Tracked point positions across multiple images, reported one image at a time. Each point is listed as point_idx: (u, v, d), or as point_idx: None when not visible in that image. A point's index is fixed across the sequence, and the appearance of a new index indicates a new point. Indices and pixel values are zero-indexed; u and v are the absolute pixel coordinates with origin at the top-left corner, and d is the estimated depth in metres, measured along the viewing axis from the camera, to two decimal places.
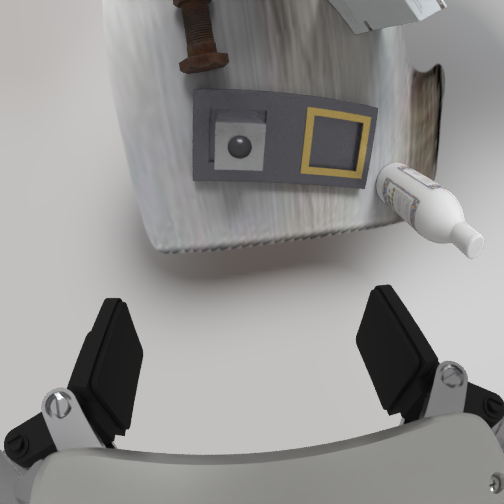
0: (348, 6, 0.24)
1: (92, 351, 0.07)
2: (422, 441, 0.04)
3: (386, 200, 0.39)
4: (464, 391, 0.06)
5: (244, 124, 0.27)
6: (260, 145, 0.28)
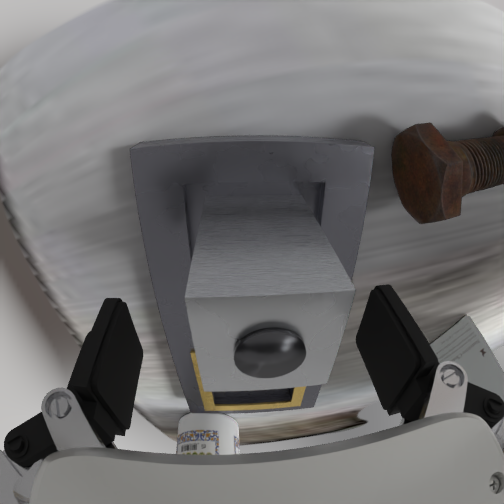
0: None
1: (92, 351, 0.07)
2: (422, 441, 0.04)
3: (187, 439, 0.25)
4: (464, 391, 0.06)
5: (334, 352, 0.10)
6: (271, 383, 0.11)
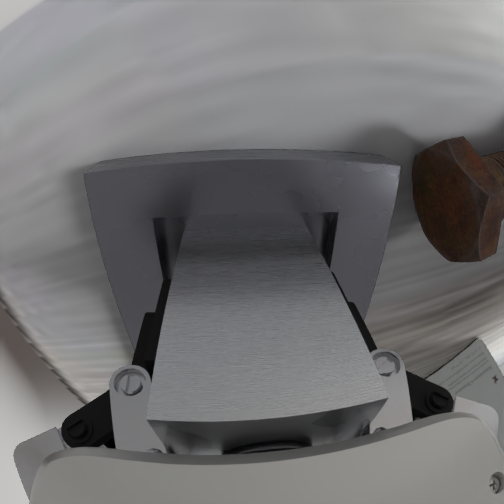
0: (466, 389, 0.18)
1: None
2: (422, 441, 0.04)
3: None
4: (404, 375, 0.07)
5: None
6: None
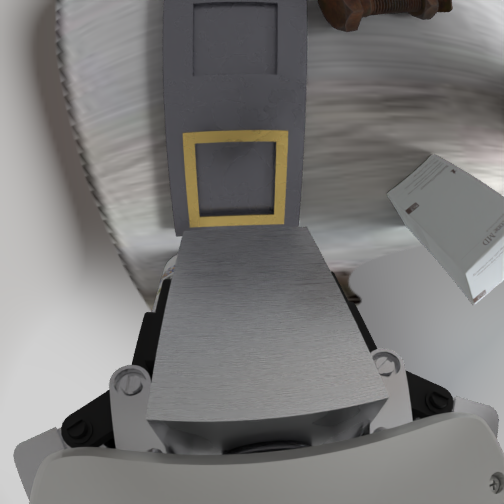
0: (430, 184, 0.25)
1: None
2: (422, 441, 0.04)
3: (169, 272, 0.28)
4: (404, 376, 0.07)
5: None
6: None
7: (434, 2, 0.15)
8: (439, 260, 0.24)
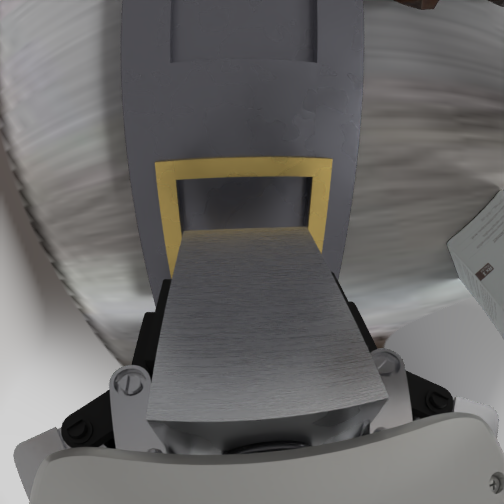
0: None
1: None
2: (422, 441, 0.04)
3: None
4: (404, 376, 0.07)
5: None
6: None
7: None
8: None
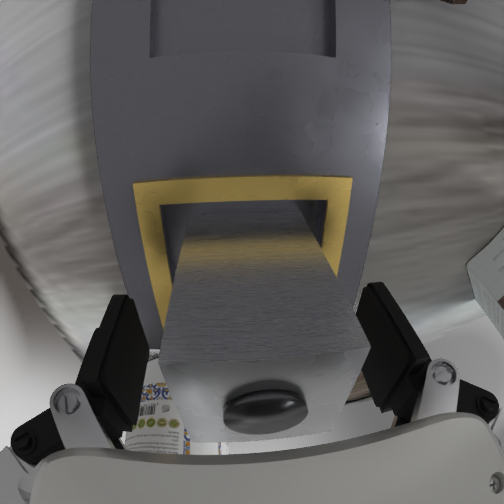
0: None
1: (101, 347, 0.07)
2: (422, 441, 0.04)
3: (142, 398, 0.16)
4: (457, 388, 0.06)
5: (339, 405, 0.08)
6: (267, 435, 0.09)
7: None
8: None
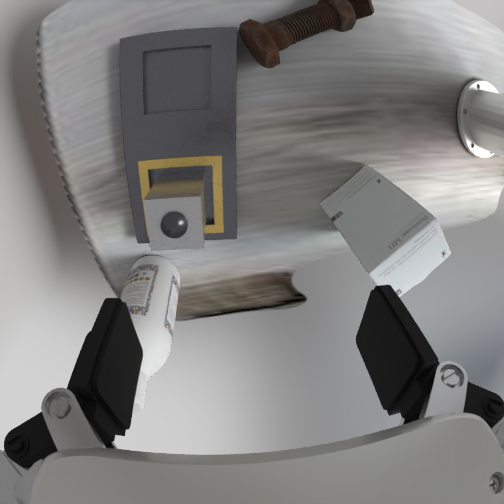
0: (356, 193, 0.31)
1: (92, 351, 0.07)
2: (422, 441, 0.04)
3: (132, 272, 0.33)
4: (464, 391, 0.06)
5: (200, 227, 0.26)
6: (178, 244, 0.26)
7: (350, 13, 0.20)
8: None
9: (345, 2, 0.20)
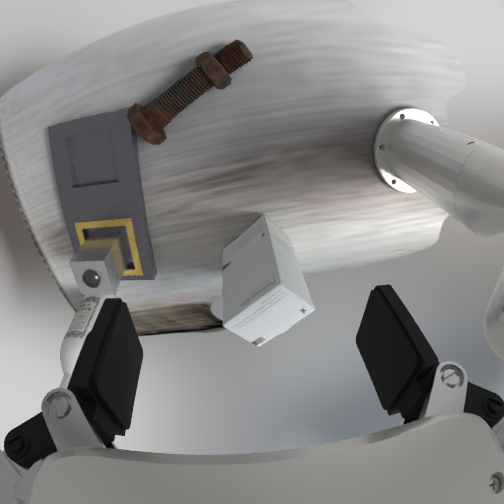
0: (245, 245, 0.37)
1: (92, 351, 0.07)
2: (422, 441, 0.04)
3: (82, 302, 0.40)
4: (464, 391, 0.06)
5: (108, 280, 0.32)
6: (97, 291, 0.33)
7: (218, 73, 0.26)
8: None
9: (212, 62, 0.25)
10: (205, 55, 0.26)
